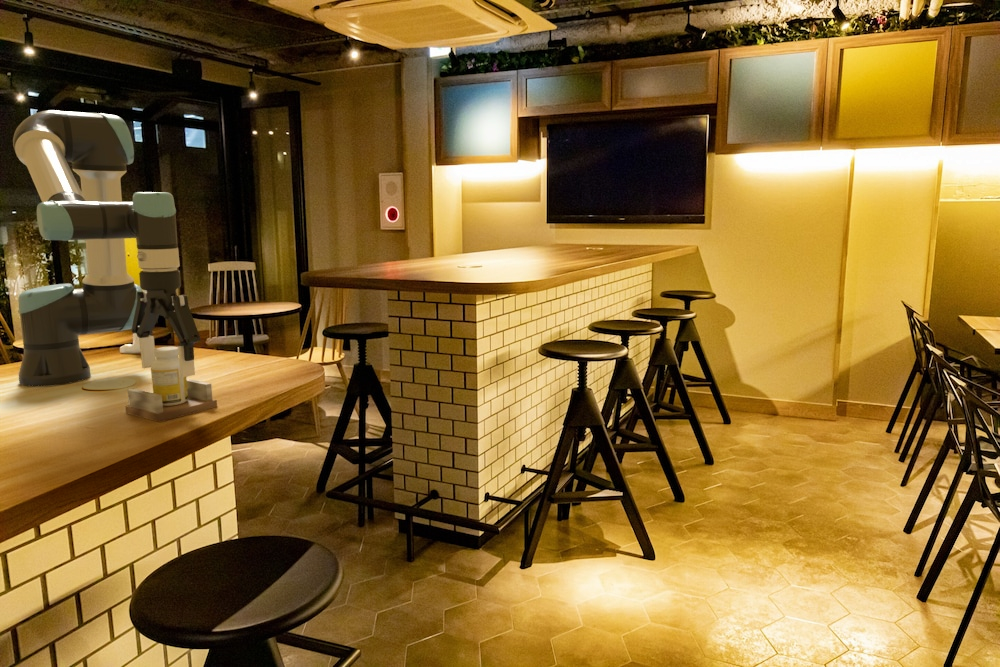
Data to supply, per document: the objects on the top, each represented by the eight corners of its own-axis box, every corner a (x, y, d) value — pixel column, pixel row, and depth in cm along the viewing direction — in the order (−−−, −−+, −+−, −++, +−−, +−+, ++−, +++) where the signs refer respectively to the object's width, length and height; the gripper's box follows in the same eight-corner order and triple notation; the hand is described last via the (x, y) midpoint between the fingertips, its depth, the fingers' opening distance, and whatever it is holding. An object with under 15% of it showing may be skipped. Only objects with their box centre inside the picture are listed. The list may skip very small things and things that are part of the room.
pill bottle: (179, 397, 153) (174, 344, 151) (194, 402, 149) (189, 348, 147) (148, 403, 149) (143, 349, 147) (163, 409, 144) (158, 352, 142)
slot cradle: (126, 413, 147) (123, 389, 146) (183, 399, 158) (181, 377, 157) (159, 422, 141) (157, 397, 140) (217, 406, 151) (215, 383, 151)
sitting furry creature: (149, 347, 218) (145, 309, 216) (165, 350, 214) (162, 311, 212) (118, 353, 211) (114, 312, 209) (135, 356, 206) (131, 315, 204)
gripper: (107, 267, 148) (117, 367, 152) (179, 274, 134) (188, 383, 138) (142, 264, 154) (150, 360, 158) (214, 271, 141) (221, 375, 145)
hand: (168, 371), depth 148 cm, fingers open, 13 cm apart
